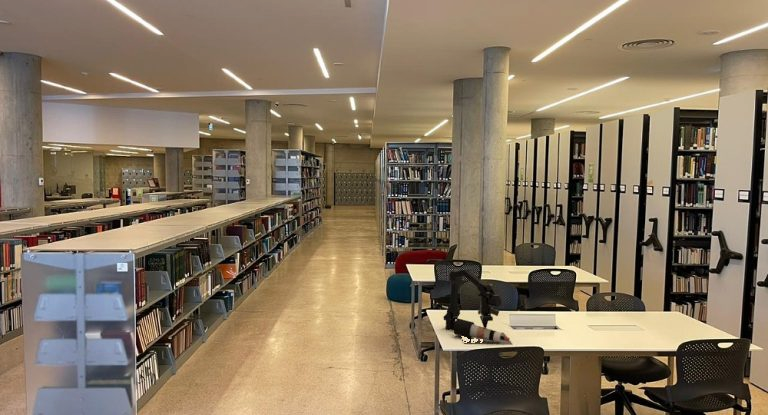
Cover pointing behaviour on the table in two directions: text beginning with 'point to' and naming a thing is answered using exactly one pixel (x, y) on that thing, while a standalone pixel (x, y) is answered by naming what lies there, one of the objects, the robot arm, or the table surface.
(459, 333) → the banded tapered cylinder
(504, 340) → the plate
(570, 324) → the table surface
